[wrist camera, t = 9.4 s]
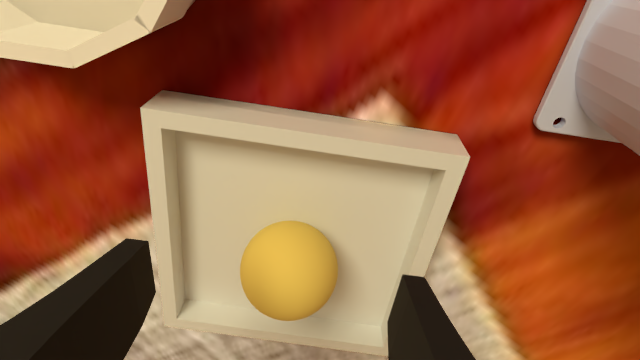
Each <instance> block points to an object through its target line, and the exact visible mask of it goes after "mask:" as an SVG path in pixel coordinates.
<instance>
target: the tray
mask: <svg viewBox="0 0 640 360" xmlns="http://www.w3.org/2000/svg"><path fill="white" fill-rule="evenodd" d="M140 110H141V119H142V129H143V138H144V147H145V156H146V165H147V174H148V184H149V193H150V202H151V211H152V220H153V229H154V239H155V248H156V257H157V266H158V275H159V284H160V294H161V303H162V312H163V321H164V326H167V327H174V328H182V329H189V330H196V331H204V332H211V333H219V334H226V335H233V336H241V337H248V338H255V339H263V340H270V341H277V342H285V343H292V344H299V345H307V346H314V347H321V348H329V349H336V350H343V351H351V352H358V353H365V354H373V355H380V356H387V357H388V329H387V321H388V318H389V315H390V312H391V309H392V306H393V303H394V299H395V296H396V293H397V290H398V287H399V284H400V280H401V277H402V274H404V275H412V276H420V277H424V276H425V273H426V270H427V268H428V265H429V263H430V260H431V258H432V255H433V252H434V250H435V247H436V245H437V242H438V239H439V237H440V234H441V232H442V229H443V226H444V224H445V221H446V219H447V216H448V213H449V211H450V208H451V206H452V203H453V201H454V198H455V195H456V193H457V190H458V188H459V185H460V182H461V180H462V177H463V175H464V172H465V169H466V167H467V164H468V162H469V159H470V156H469V154H468V152H467V151H466V149H465V147H464V146H463V144H462V142H461V140H460V139H459V137H458V135H457V134H451V133H444V132H437V131H431V130H424V129H418V128H411V127H404V126H398V125H391V124H384V123H378V122H371V121H365V120H358V119H351V118H345V117H338V116H332V115H325V114H318V113H312V112H305V111H299V110H292V109H285V108H279V107H272V106H266V105H259V104H252V103H246V102H239V101H232V100H226V99H219V98H213V97H206V96H199V95H193V94H186V93H180V92H173V91H166V90H162V91H160V92H159V93H158V94H157V95H155V96H154V97H153V98H152V99H150V100H149V101H148V102H147V103H145V104H144V105H143V106H142V107H140ZM281 221H299V222H303V223H306V224H309V225H311V226H313V227H314V228H316V229H318V230H319V231H320V232H321V233H322V234H323V235H324V236H325V237H326V238H327V239H328V240H329V242H330V243H331V245H332V247H333V249H334V251H335V254H336V258H337V263H338V277H337V282H336V286H335V289H334V291H333V293H332V295H331V297H330V298H329V300H328V301H327V302H326V304H325V305H324V306H323V307H322V308H321V309H319V310H318V311H317V312H315V313H314V314H312V315H310V316H308V317H306V318H303V319H300V320H294V321H281V320H276V319H273V318H270V317H268V316H266V315H264V314H263V313H261V312H260V311H258V310H257V309H256V308H255V307H254V306H253V305H252V304H251V303H250V301H249V300H248V298H247V297H246V295H245V293H244V290H243V287H242V284H241V279H240V264H241V259H242V256H243V253H244V251H245V248H246V247H247V245H248V243H249V242H250V240H251V239H252V238H253V237H254V236H255V235H256V234H257V233H258V232H259V231H260V230H262V229H263V228H265V227H267V226H269V225H271V224H273V223H277V222H281Z"/></svg>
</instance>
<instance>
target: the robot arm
mask: <svg viewBox="0 0 640 360" xmlns="http://www.w3.org/2000/svg"><path fill="white" fill-rule="evenodd" d="M561 117H562V118H561ZM557 118H561V121H560V122H559V123H558V124H556V125H553V122H554V121H555V120H556V119H557ZM533 122H534V125H535V126H536V127H537V128H538V129H539V130H542V131H546V132H552V133H559V134H566V135H572V136H579V137H585V138H592V139H598V140H605V141H612V142H618V143H623V144H624V145H625V146H627V147H628V148H630V149H631V150H632V151H634V152H635V153H636V154H638V155H639V156H640V0H587V2H586V4H585V6H584V8H583V11H582V13H581V15H580V17H579V19H578V21H577V24H576V26H575V28H574V30H573V32H572V35H571V37H570V39H569V41H568V43H567V46H566V48H565V50H564V52H563V54H562V57H561V59H560V61H559V63H558V65H557V68H556V70H555V72H554V74H553V76H552V79H551V81H550V83H549V85H548V87H547V90H546V92H545V94H544V96H543V98H542V101H541V103H540V105H539V107H538V109H537V112H536V114H535V116H534V119H533ZM155 293H156V290H155V284H154V277H153V270H152V263H151V256H150V250H149V243H148V241H142V240H135V239H125V240H124V241H122V242H121V243H120V244H118V245H117V246H115V247H114V248H113V249H111V250H110V251H109V252H107V253H106V254H104V255H103V256H102V257H100V258H99V259H98V260H96V261H95V262H93V263H92V264H91V265H89V266H88V267H87V268H85V269H84V270H82V271H81V272H80V273H78V274H77V275H75V276H74V277H73V278H71V279H70V280H68V281H67V282H66V283H64V284H63V285H61V286H60V287H58V288H57V289H56V290H54V291H53V292H51V293H50V294H48V295H47V296H45V297H44V298H42V299H41V300H39V301H38V302H36V303H35V304H33V305H31V306H30V307H28V308H27V309H25V310H24V311H22V312H21V313H19V314H18V315H16V316H15V317H13V318H11V319H10V320H8V321H7V322H5V323H3V324H2V325H0V360H123V359H124V358H125V356H126V354H127V352H128V351H129V349H130V347H131V345H132V343H133V342H134V340H135V338H136V336H137V334H138V332H139V331H140V329H141V327H142V325H143V322H144V320H145V318H146V315H147V313H148V311H149V308H150V306H151V303H152V301H153V298H154V296H155ZM387 329H388V358H389V360H476V359H475V358H474V356H473V355H472V354H471V352H470V351H469V349H468V348H467V346H466V344H465V343H464V341H463V340H462V338H461V337H460V335H459V334H458V332H457V331H456V329H455V328H454V326H453V324H452V323H451V321H450V320H449V318H448V316H447V315H446V313H445V311H444V310H443V308H442V306H441V305H440V303H439V301H438V300H437V298H436V296H435V294H434V293H433V291H432V289H431V287H430V286H429V284H428V282H427V281H426V279H425V278H424V277H420V276H412V275H404V274H402V277H401V280H400V284H399V287H398V290H397V293H396V296H395V299H394V303H393V306H392V309H391V312H390V315H389V318H388V321H387Z"/></svg>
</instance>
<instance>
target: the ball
mask: <svg viewBox="0 0 640 360" xmlns="http://www.w3.org/2000/svg"><path fill="white" fill-rule="evenodd" d="M337 277H338V263H337V258H336V254H335V251H334V249H333V247H332V245H331V243H330V242H329V240H328V239H327V238H326V237H325V236H324V235H323V234H322V233H321V232H320V231H319V230H318V229H316V228H314V227H313V226H311V225H309V224H306V223H303V222H299V221H281V222H277V223H273V224H271V225H269V226H267V227H265V228H263V229H262V230H260V231H259V232H258V233H257V234H256V235H255V236H254V237H253V238H252V239H251V240H250V242H249V243H248V245H247V247H246V248H245V251H244V253H243V256H242V259H241V264H240V279H241V284H242V287H243V290H244V293H245V295H246V297H247V298H248V300H249V301H250V303H251V304H252V305H253V306H254V307H255V308H256V309H257V310H258V311H260V312H261V313H263V314H264V315H266V316H268V317H270V318H273V319H276V320H281V321H294V320H300V319H303V318H306V317H308V316H310V315H312V314H314V313H315V312H317V311H318V310H319V309H321V308H322V307H323V306H324V305H325V304H326V302H327V301H328V300H329V298H330V297H331V295H332V293H333V291H334V289H335V286H336V282H337Z"/></svg>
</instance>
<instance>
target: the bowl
mask: <svg viewBox="0 0 640 360" xmlns="http://www.w3.org/2000/svg"><path fill="white" fill-rule="evenodd" d="M194 2H195V0H0V57H1V58H8V59H14V60H21V61H28V62H34V63H41V64H47V65H54V66H61V67H67V68H77V67H79V66H81V65H83V64H85V63H87V62H90V61H92V60H94V59H96V58H98V57H100V56H102V55H105V54H107V53H109V52H111V51H113V50H115V49H118V48H120V47H122V46H124V45H126V44H128V43H130V42H132V41H135V40H137V39H139V38H141V37H143V36H145V35H147V34H150V33H152V32H154V31H156V30H158V29H160V28H162V27H164V26H167V25H169V24H171V23H173V22H175V21H177V20H179V19H181V18H182V17H183V16H184V15H185V13H186V11H187V9H188V8H189V7H190V6H191V5H192V4H193V3H194Z"/></svg>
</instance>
